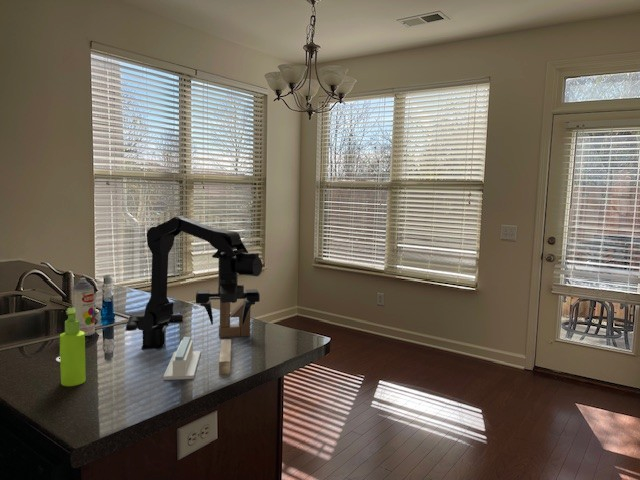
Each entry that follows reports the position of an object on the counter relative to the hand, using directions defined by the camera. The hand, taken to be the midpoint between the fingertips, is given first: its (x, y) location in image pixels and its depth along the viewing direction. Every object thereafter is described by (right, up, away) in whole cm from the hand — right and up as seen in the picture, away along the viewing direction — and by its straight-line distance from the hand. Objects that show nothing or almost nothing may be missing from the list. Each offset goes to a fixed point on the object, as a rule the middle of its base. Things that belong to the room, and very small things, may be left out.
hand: (227, 323), depth 145 cm
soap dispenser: (-37, -12, -19) cm, 44 cm away
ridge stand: (-12, -12, -5) cm, 17 cm away
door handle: (-34, -8, +35) cm, 49 cm away
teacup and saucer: (-46, -10, +2) cm, 48 cm away
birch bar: (-1, -12, 0) cm, 12 cm away
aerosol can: (-55, -8, +22) cm, 59 cm away
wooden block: (-3, -9, +26) cm, 27 cm away
